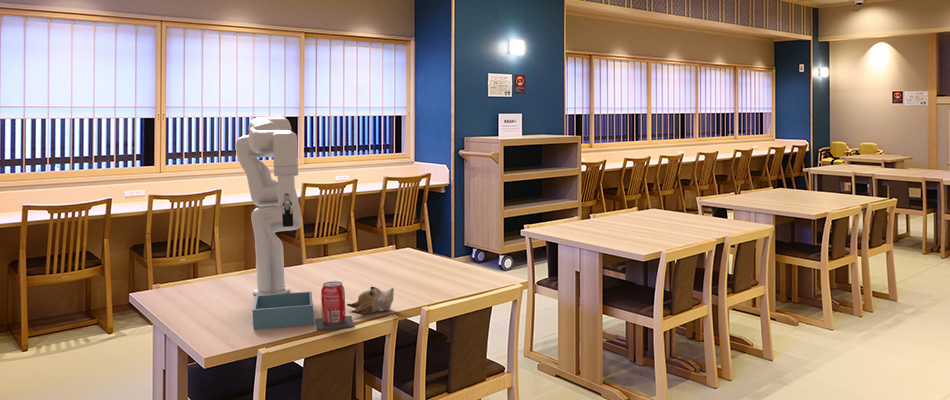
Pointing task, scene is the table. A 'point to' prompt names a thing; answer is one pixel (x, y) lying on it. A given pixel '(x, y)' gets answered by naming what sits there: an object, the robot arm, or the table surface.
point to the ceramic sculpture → (373, 301)
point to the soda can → (333, 302)
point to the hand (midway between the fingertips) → (287, 223)
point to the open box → (282, 310)
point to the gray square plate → (344, 324)
